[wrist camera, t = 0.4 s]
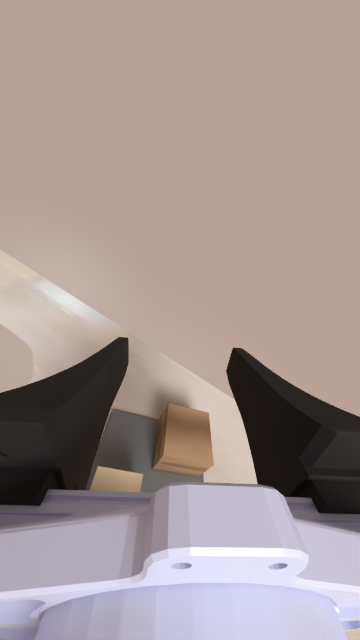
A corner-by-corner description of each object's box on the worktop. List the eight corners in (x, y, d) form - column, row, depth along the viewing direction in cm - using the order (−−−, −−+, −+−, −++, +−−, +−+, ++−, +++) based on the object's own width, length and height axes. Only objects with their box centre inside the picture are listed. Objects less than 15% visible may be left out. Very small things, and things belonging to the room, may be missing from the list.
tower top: (204, 472, 21) (213, 464, 20) (157, 462, 20) (163, 454, 19) (201, 421, 26) (208, 412, 25) (163, 411, 25) (168, 402, 24)
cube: (121, 552, 16) (130, 547, 14) (70, 546, 15) (71, 541, 13) (134, 486, 20) (143, 474, 17) (94, 479, 19) (97, 465, 17)
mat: (207, 594, 16) (209, 594, 16) (48, 581, 14) (48, 582, 14) (199, 431, 28) (200, 430, 28) (112, 410, 26) (113, 409, 26)
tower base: (196, 478, 22) (204, 472, 21) (151, 469, 22) (157, 462, 20) (195, 428, 27) (201, 421, 26) (158, 420, 27) (163, 411, 25)
